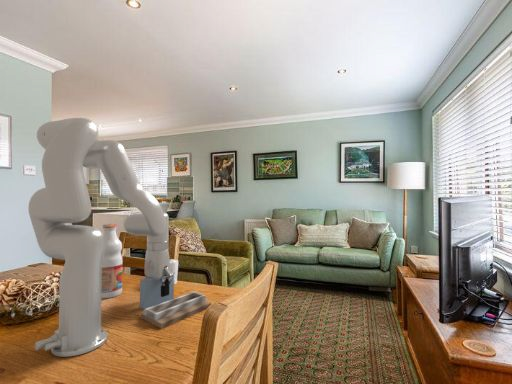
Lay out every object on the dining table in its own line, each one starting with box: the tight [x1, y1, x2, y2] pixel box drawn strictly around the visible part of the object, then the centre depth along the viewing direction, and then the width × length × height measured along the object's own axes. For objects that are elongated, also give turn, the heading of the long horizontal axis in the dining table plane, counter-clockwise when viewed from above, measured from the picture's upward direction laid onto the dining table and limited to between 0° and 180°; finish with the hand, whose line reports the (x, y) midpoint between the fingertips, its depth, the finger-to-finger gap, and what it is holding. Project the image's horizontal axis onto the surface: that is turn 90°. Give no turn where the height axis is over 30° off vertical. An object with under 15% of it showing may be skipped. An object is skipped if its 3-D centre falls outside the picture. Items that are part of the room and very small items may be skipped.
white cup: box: [169, 258, 179, 285], centre depth 122 cm, size 8×8×10 cm
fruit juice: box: [101, 223, 123, 299], centre depth 108 cm, size 9×9×28 cm
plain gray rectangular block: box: [139, 273, 175, 311], centre depth 99 cm, size 12×3×10 cm, turn 142°
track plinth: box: [139, 291, 212, 330], centre depth 92 cm, size 20×12×4 cm, turn 142°
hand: (157, 292), depth 99 cm, fingers open, 8 cm apart
